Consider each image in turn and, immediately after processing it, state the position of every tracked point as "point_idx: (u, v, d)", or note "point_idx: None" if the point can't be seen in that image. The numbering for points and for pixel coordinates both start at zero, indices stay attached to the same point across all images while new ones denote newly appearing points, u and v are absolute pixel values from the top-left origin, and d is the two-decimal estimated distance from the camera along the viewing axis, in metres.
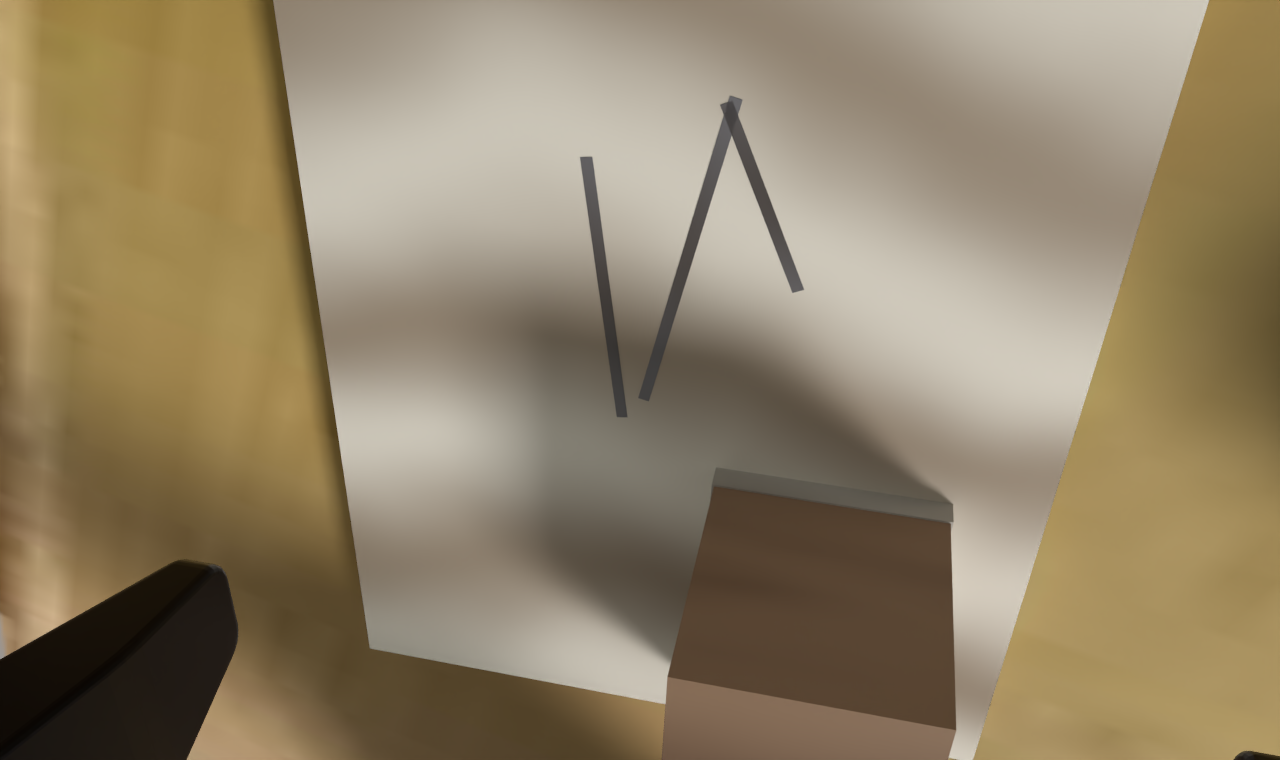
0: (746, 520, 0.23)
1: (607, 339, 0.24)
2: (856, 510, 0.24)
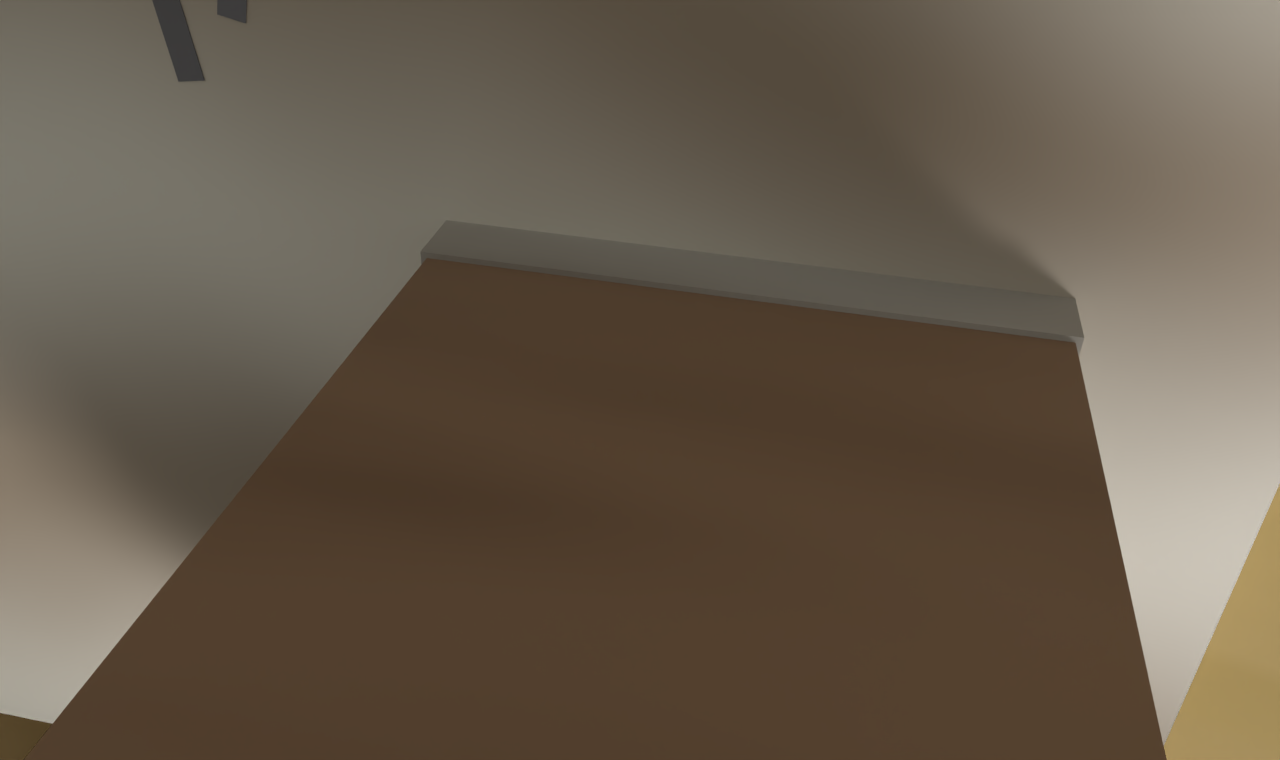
0: (489, 329, 0.08)
1: None
2: (806, 314, 0.09)
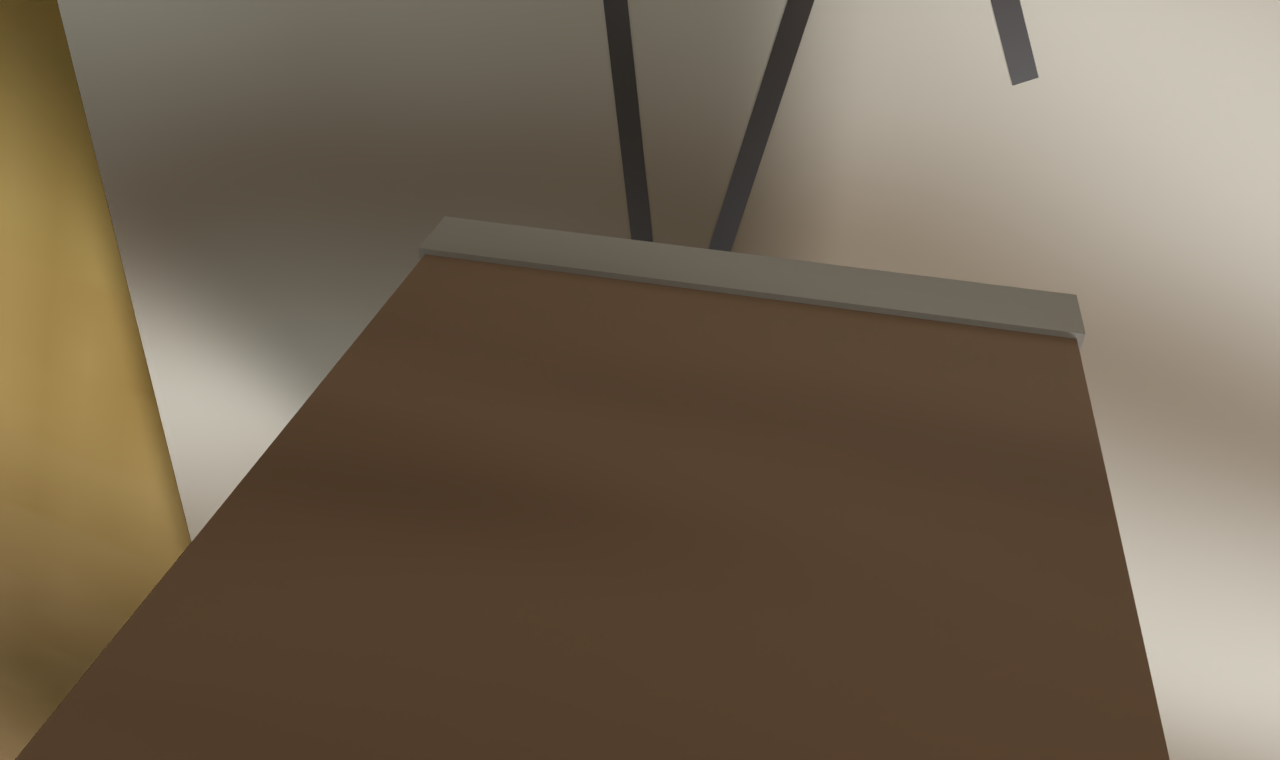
0: (488, 326, 0.08)
1: (629, 200, 0.12)
2: (806, 311, 0.09)
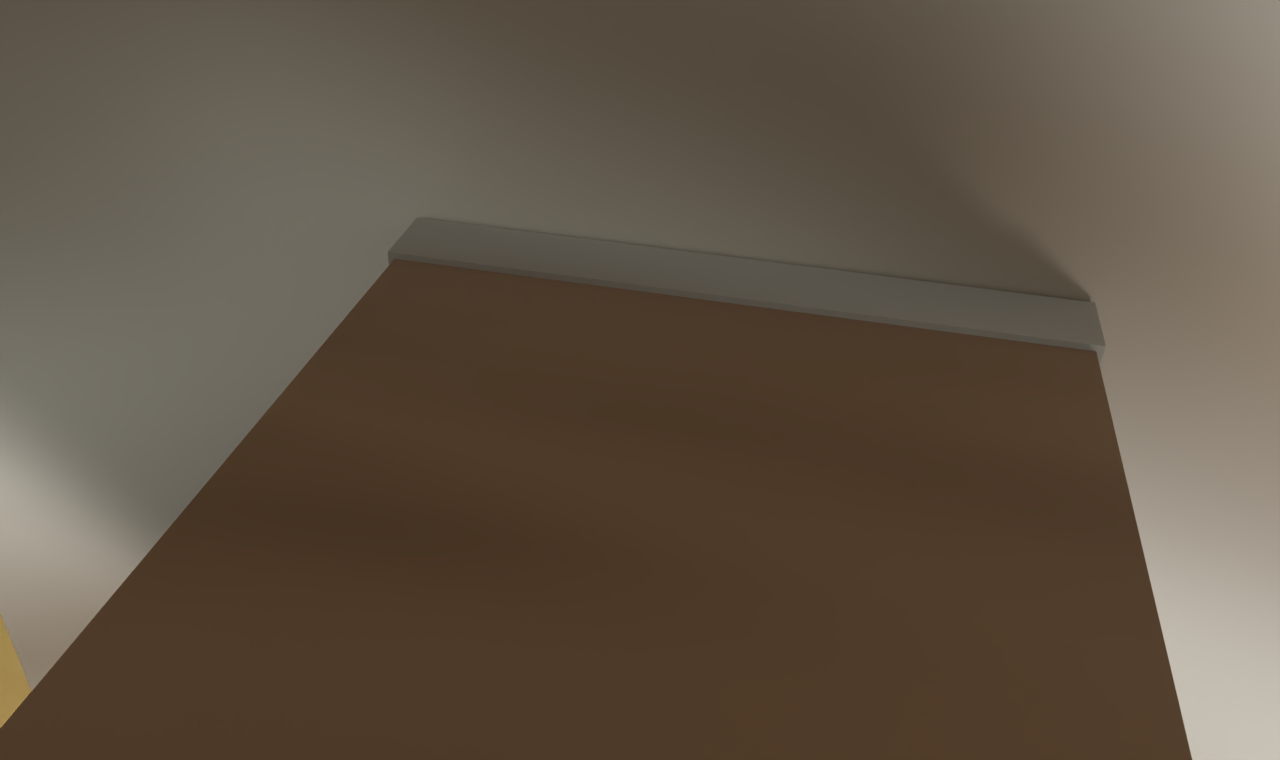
0: (459, 338, 0.07)
1: None
2: (805, 320, 0.08)
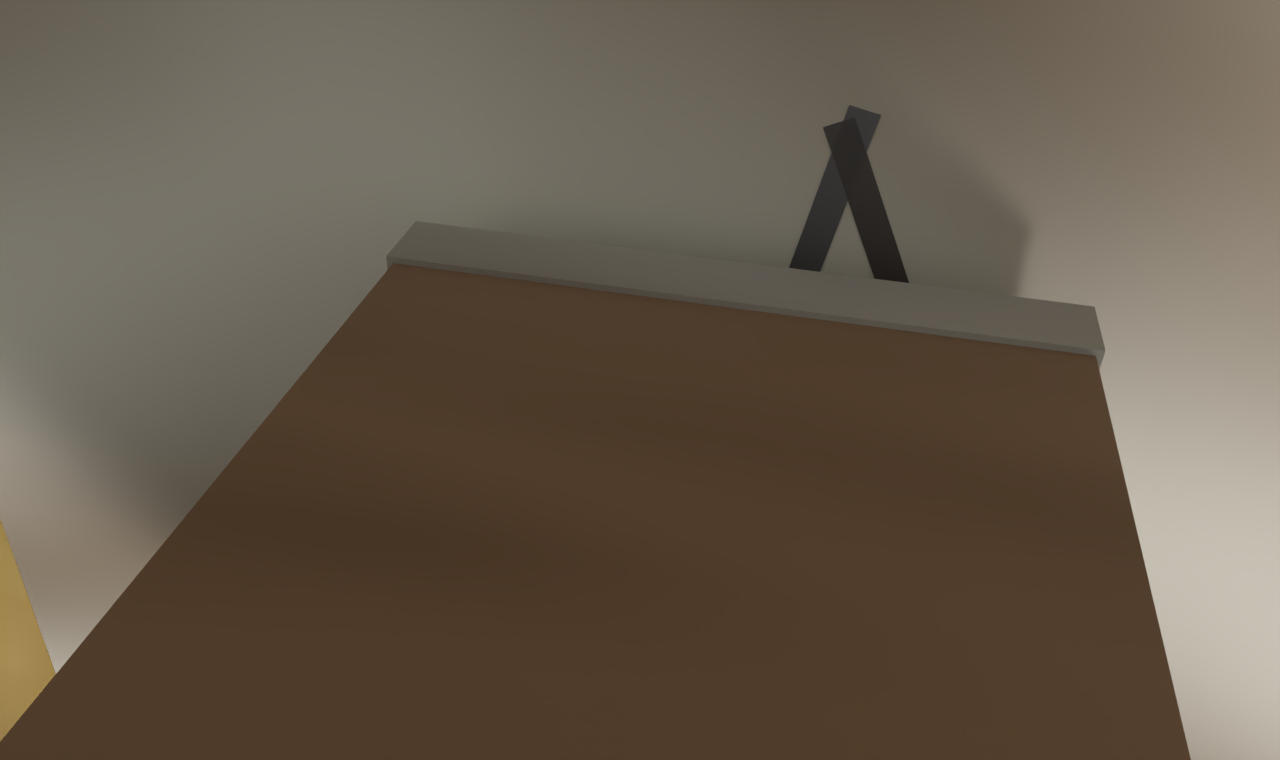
0: (458, 343, 0.07)
1: None
2: (805, 324, 0.08)
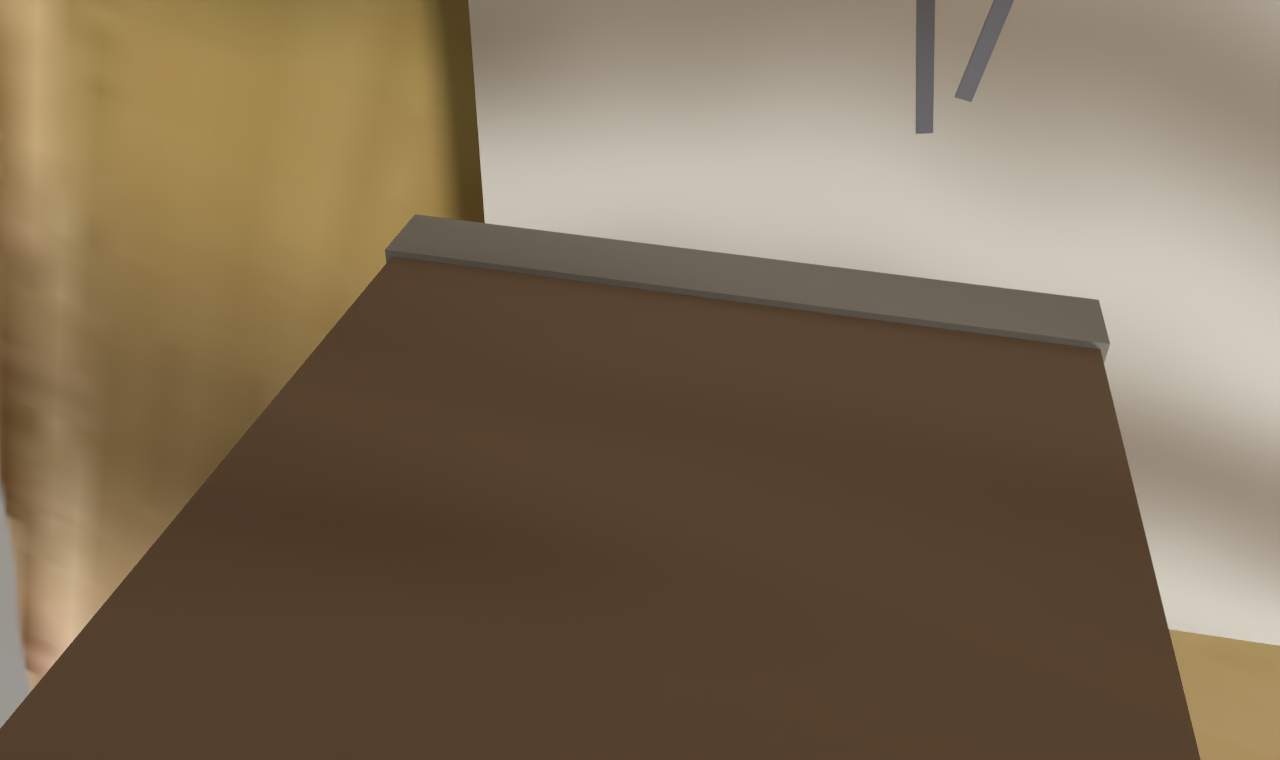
0: (458, 337, 0.07)
1: None
2: (806, 318, 0.08)
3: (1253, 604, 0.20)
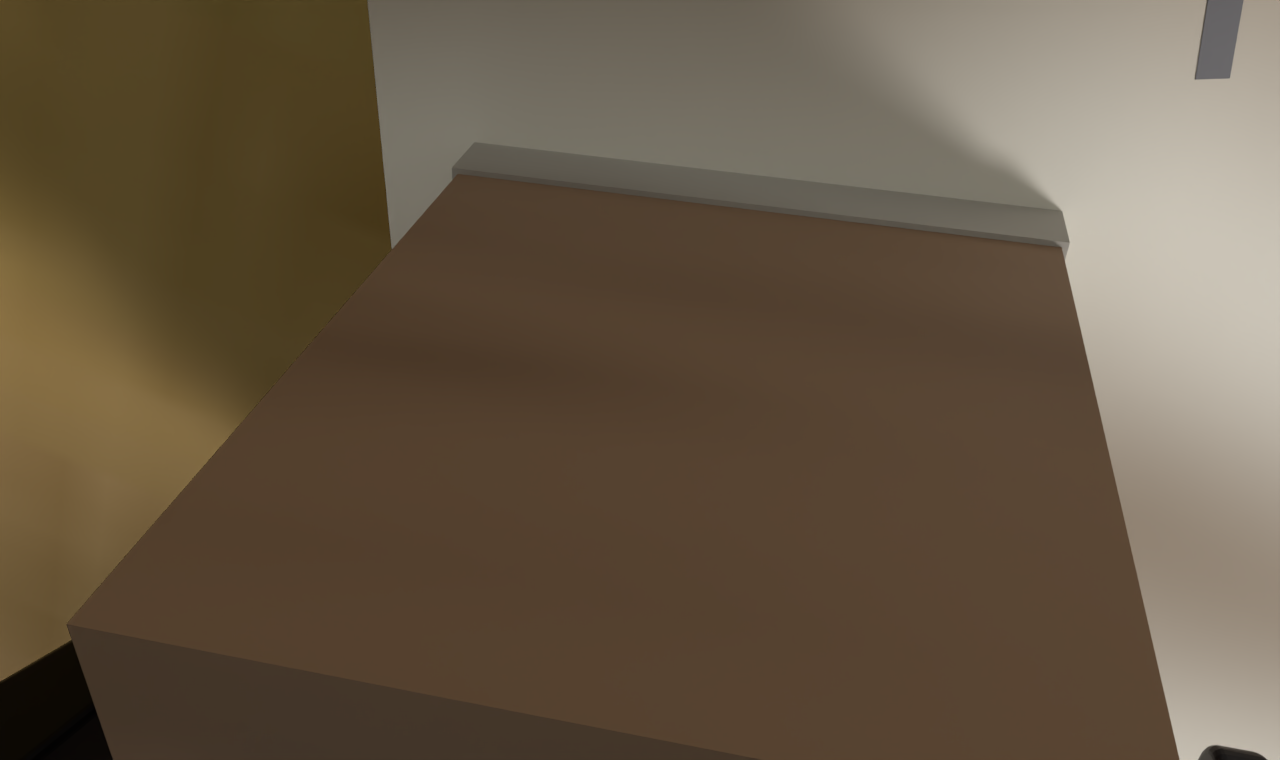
0: (518, 232, 0.09)
1: None
2: (812, 223, 0.09)
3: None
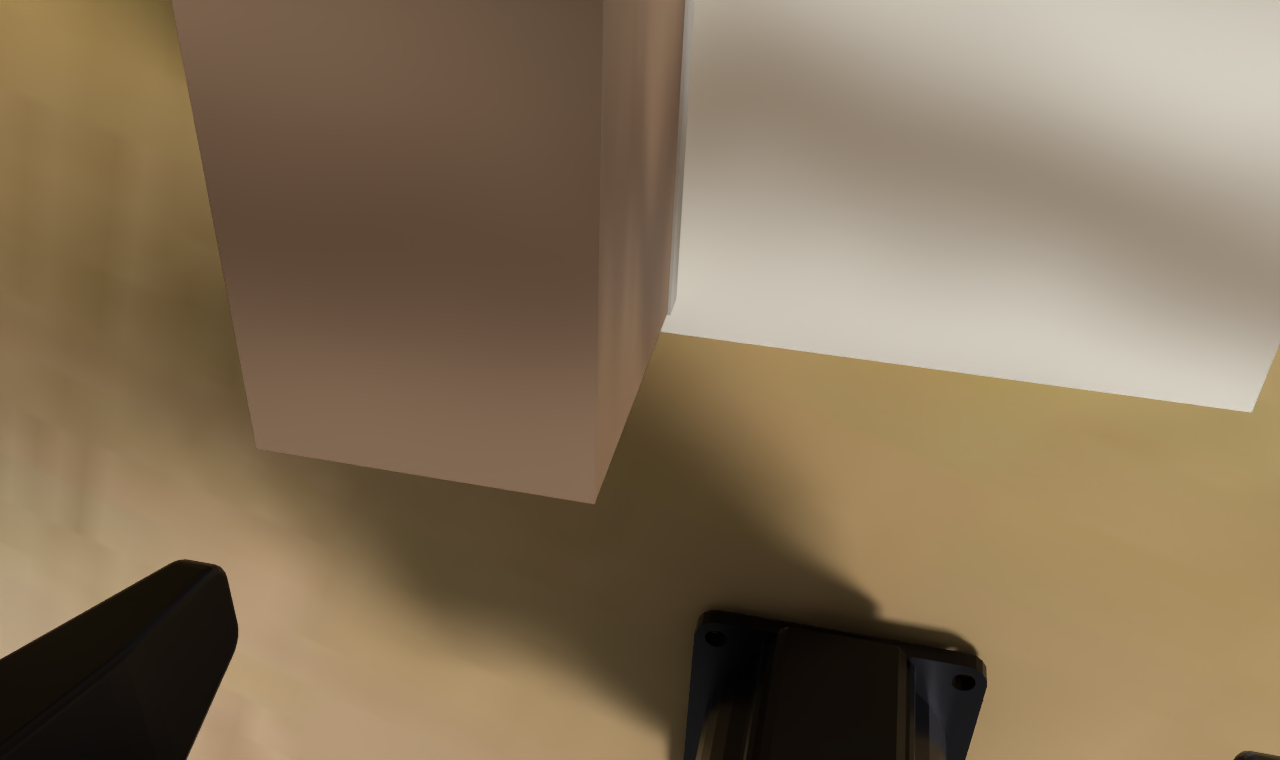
0: None
1: None
2: None
3: (1127, 350, 0.19)
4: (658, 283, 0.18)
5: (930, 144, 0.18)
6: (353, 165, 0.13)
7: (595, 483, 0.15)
